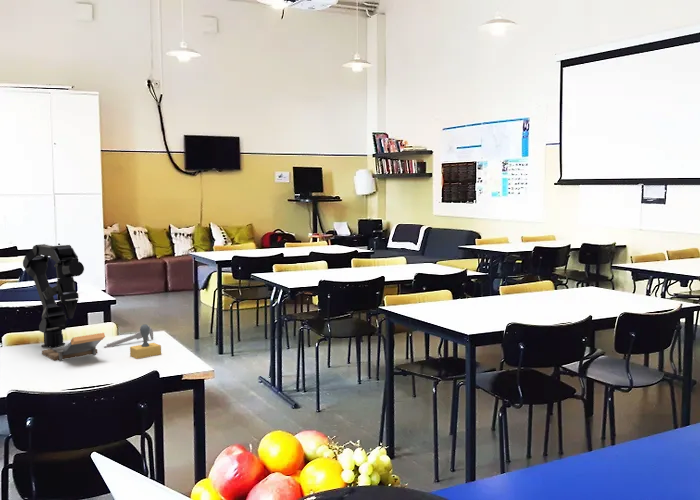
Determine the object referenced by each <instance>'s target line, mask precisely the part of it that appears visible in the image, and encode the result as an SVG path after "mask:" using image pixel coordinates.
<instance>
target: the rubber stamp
mask: <svg viewBox="0 0 700 500" xmlns="http://www.w3.org/2000/svg"><path fill="white" fill-rule="evenodd" d="M149 326H150V325H148V324H142V325H141V326H140V327H139V332H141V335H142V339H143V340H142V341H143V343H142V344H138V345H132V346H130V347H129V352H130V353H129V356H130V357H131V358H134V359H135V360H136V359H143V358H149V357H150V358H151V357H154V356H159V355H162V345H160V344H158V343H155V342H150V343H148V341H147V338H148V337H149V336H150V334H149V332H150V328H151V327H150V328H149Z"/></svg>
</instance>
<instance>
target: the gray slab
mask: <svg viewBox="0 0 700 500" xmlns="http://www.w3.org/2000/svg"><path fill="white" fill-rule="evenodd" d="M105 337H106V336H105V332H99V333H94V334H87V335H80V336H75V337H74V336H73V337H72V338H71V339H70V342H68V344H66V346H67V347H66V348H65V349H64V350H63V351H62V356H63V355H68V354H74V353H80V352H86V351H92V350H93V349H94V348H95V346H97V345H98V344H99V343H100V342H101V341H103V340H104V338H105Z"/></svg>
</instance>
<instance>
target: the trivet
mask: <svg viewBox="0 0 700 500" xmlns="http://www.w3.org/2000/svg"><path fill="white" fill-rule="evenodd" d="M96 346H97V345H96ZM96 346H95V348H94V349H93V350H92V351H86V352H80V353H74V354H68V355H63V356H62V351H63V350H64V349H65V348H66V347H67V345H62V346H58V347H55V348H52V347H51V348H49V349H42V350H41V355H43V356H44V357H46V358H49V359H50V360H52V361H54V362H55V361H59V362H63V361H64V360H66V359H67V360H68V359H73V358H78V357H84V356H91V355H92V356H96V355H97V354H98V349H97V348H96Z"/></svg>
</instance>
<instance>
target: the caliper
mask: <svg viewBox="0 0 700 500" xmlns="http://www.w3.org/2000/svg"><path fill="white" fill-rule="evenodd" d="M148 326H149V328H150V332H149V336H148V338H147V342H149V341H150V340H151V341H153V340H154V332H153V327H150V325H148ZM141 339H143V337H142V335H141V332H140V331H138V332H136V333H134V334H132V335H129V336H125V337H124V338H120V339H117V340H115V341H112V342H110V343H109V342H108V343H106V345H104V346H103V348H105V349H106V348H113V347H116V346H118V345H121V344H123V343H127V342H129V341H132V340H141Z"/></svg>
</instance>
